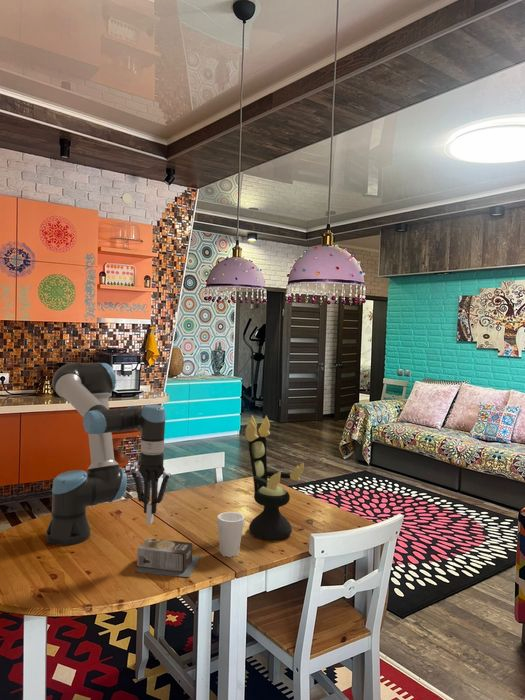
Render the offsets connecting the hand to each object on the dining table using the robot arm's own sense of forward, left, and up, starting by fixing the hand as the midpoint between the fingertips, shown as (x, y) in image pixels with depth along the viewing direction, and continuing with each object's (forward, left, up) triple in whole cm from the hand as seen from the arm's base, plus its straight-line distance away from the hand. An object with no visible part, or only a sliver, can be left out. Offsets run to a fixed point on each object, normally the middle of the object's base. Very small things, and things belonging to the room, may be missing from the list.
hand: (149, 522), depth 172 cm
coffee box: (-2, 0, -10) cm, 10 cm away
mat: (+7, 0, -13) cm, 15 cm away
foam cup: (+25, +13, -14) cm, 31 cm away
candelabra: (+35, +35, -14) cm, 51 cm away
